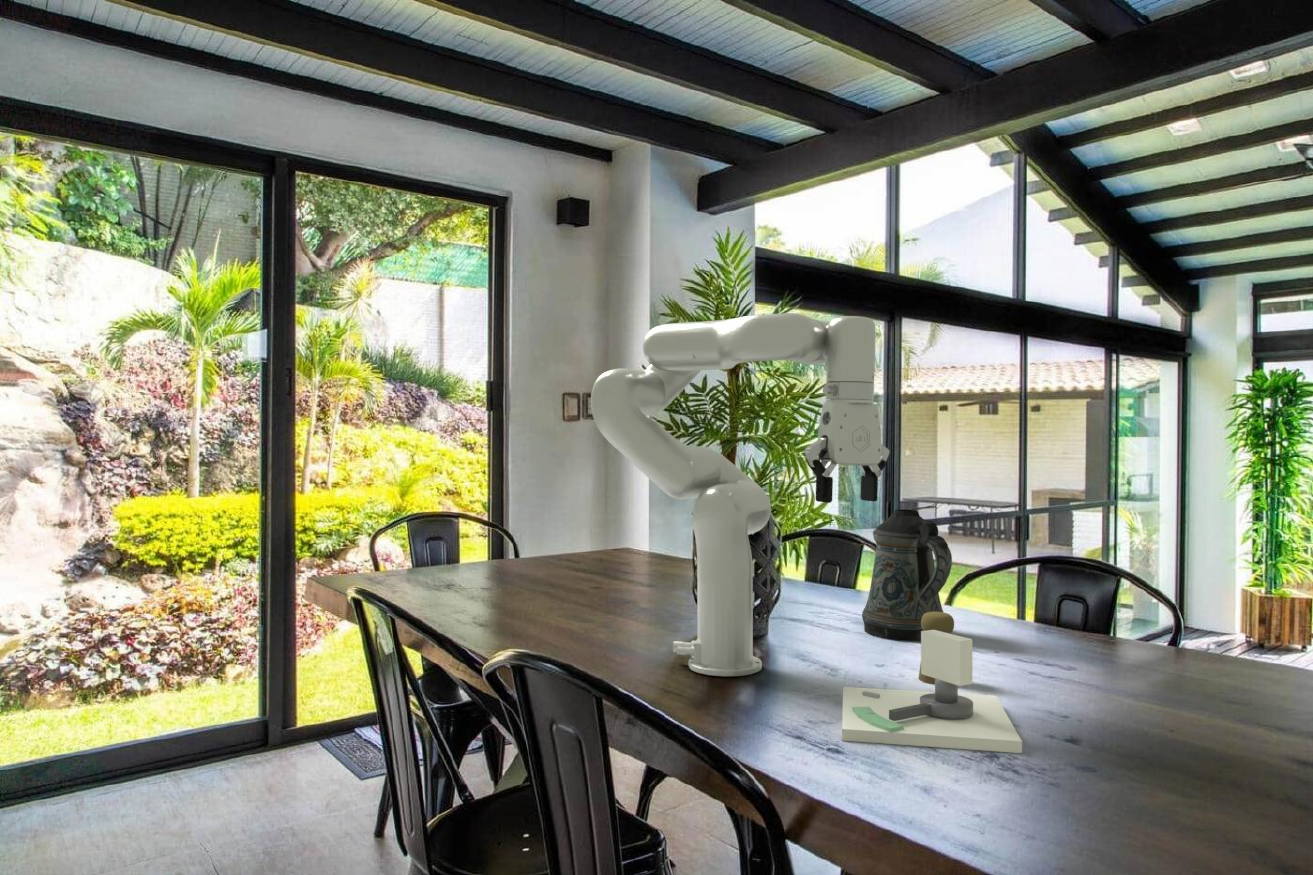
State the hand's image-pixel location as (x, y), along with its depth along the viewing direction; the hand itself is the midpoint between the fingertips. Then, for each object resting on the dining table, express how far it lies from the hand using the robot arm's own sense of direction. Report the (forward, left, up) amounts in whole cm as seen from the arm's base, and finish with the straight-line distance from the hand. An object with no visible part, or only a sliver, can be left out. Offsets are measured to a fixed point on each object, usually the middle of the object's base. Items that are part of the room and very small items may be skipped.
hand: (846, 501), depth 140 cm
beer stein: (+12, +41, -30) cm, 52 cm away
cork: (+14, +6, -30) cm, 34 cm away
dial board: (+10, -17, -29) cm, 35 cm away
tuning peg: (+11, -19, -28) cm, 35 cm away
